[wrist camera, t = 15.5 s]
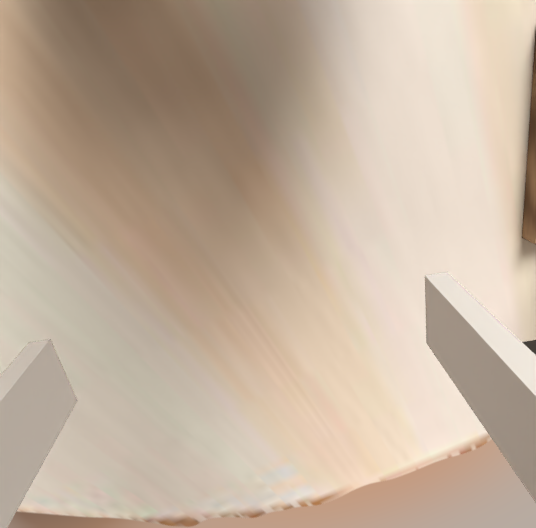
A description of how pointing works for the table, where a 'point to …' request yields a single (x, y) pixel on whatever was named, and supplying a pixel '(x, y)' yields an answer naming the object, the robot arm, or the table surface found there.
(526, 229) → the tray
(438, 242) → the table surface
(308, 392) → the table surface
